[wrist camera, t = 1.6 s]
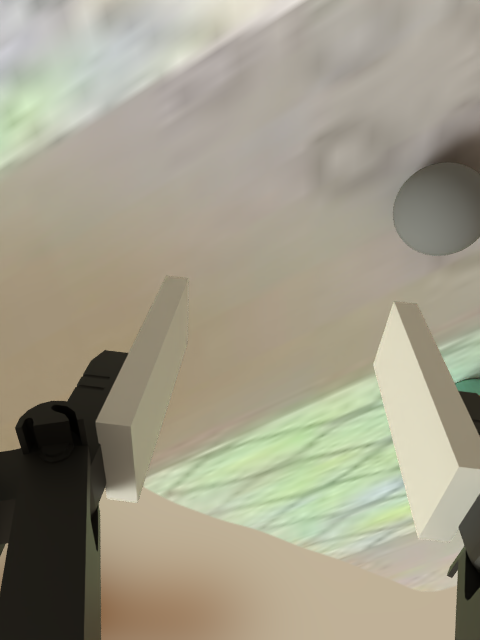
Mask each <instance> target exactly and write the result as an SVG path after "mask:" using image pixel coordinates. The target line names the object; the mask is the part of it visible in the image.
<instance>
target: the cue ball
mask: <svg viewBox="0 0 480 640" xmlns="http://www.w3.org/2000/svg"><path fill="white" fill-rule="evenodd" d="M393 220H394V225H395V228H396V230H397V233H398V234H399V236H400V238H401V239H402V240H403V241H404V242H405V243H406V244H407V245H408V246H409V247H411V248H412V249H414V250H415V251H418V252H420V253H423V254H426V255H432V256H442V255H449V254H453V253H456V252H459V251H461V250H463V249H465V248H467V247H468V246H470V245H471V244H473V243H474V242H475V241H476V240H477V239H478V238H479V237H480V174H479V173H478V172H476V171H475V170H473V169H472V168H470V167H468V166H465V165H462V164H458V163H450V162H445V163H438V164H433V165H430V166H427V167H425V168H423V169H421V170H419V171H418V172H416V173H415V174H413V175H412V176H411V177H410V178H409V179H408V180H407V181H406V182H405V183H404V184H403V186H402V187H401V189H400V190H399V192H398V194H397V197H396V199H395V202H394V207H393Z"/></svg>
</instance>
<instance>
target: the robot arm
mask: <svg viewBox="0 0 480 640" xmlns="http://www.w3.org/2000/svg"><path fill="white" fill-rule="evenodd" d="M188 285H189V278H183V277H174V276H166V277H165V279H164V281H163V283H162V285H161V287H160V290H159V292H158V294H157V296H156V298H155V300H154V302H153V304H152V306H151V308H150V310H149V312H148V314H147V316H146V318H145V321H144V323H143V325H142V327H141V329H140V331H139V333H138V335H137V337H136V339H135V341H134V343H133V345H132V347H131V349H130V351H129V353H123V352H115V351H106V350H105V351H103V352H102V353H101V354H99V355H98V356H97V357H95V358H94V359H93V360H92V361H91V362H90V364H89V365H88V367H87V369H86V370H85V372H84V374H83V377H81V379H80V381H79V382H78V384H77V387H75V389H74V391H73V393H72V394H71V396H70V398H69V399H68V401H67V402H66V401H50V402H46V403H42V404H39V405H37V406H35V407H33V408H31V409H30V410H28V411H27V412H26V413H25V414H24V415H23V416H22V417H21V418H20V419H19V421H18V423H17V425H16V427H15V429H16V433H17V436H18V439H19V442H20V446H21V448H20V449H16V450H11V451H4V452H0V555H1V553H2V551H3V548H4V546H5V544H6V543H8V549H7V555H6V562H5V568H4V573H3V579H2V586H1V591H0V640H101V584H100V583H101V580H100V510H99V501H100V498H101V496H102V494H103V491H104V488H106V494H107V499H112V500H120V501H127V502H135V503H137V502H138V500H139V497H140V493H141V490H142V487H143V484H144V481H145V478H146V474H147V471H148V468H149V465H150V462H151V458H152V455H153V452H154V449H155V446H156V443H157V439H158V436H159V433H160V430H161V427H162V423H163V420H164V417H165V414H166V411H167V407H168V404H169V401H170V398H171V395H172V391H173V388H174V385H175V382H176V379H177V375H178V372H179V369H180V366H181V363H182V359H183V356H184V353H185V350H186V347H187V344H188ZM373 365H374V369H375V373H376V377H377V381H378V385H379V388H380V392H381V396H382V400H383V404H384V408H385V412H386V416H387V419H388V423H389V427H390V431H391V435H392V439H393V443H394V447H395V450H396V454H397V458H398V462H399V466H400V470H401V474H402V478H403V481H404V485H405V489H406V493H407V497H408V501H409V505H410V509H411V512H412V516H413V520H414V524H415V528H416V532H417V536H418V539H424V540H432V541H440V542H447V543H450V542H451V540H452V539H453V537H454V536H455V534H456V533H457V531H458V530H460V533H461V536H462V539H463V542H464V545H465V546H464V548H463V549H462V550H461V552H460V553H459V555H458V556H457V558H456V559H455V561H454V562H453V564H452V565H451V566H450V568H449V571H448V574H447V576H449V577H451V578H452V577H453V576H454V574H455V573H456V572H457V570H458V581H457V605H456V629H455V640H480V396H479V395H478V394H477V393H472V392H464V391H458V389H457V387H456V385H455V383H454V381H453V379H452V377H451V375H450V373H449V370H448V368H447V366H446V364H445V362H444V360H443V358H442V356H441V354H440V351H439V349H438V347H437V345H436V343H435V341H434V339H433V337H432V334H431V332H430V330H429V328H428V326H427V324H426V322H425V320H424V318H423V315H422V313H421V311H420V309H419V307H418V305H417V304H414V303H405V302H396V301H394V303H393V306H392V309H391V312H390V315H389V318H388V321H387V324H386V327H385V330H384V333H383V336H382V340H381V343H380V346H379V349H378V352H377V355H376V358H375V361H374V364H373Z"/></svg>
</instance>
